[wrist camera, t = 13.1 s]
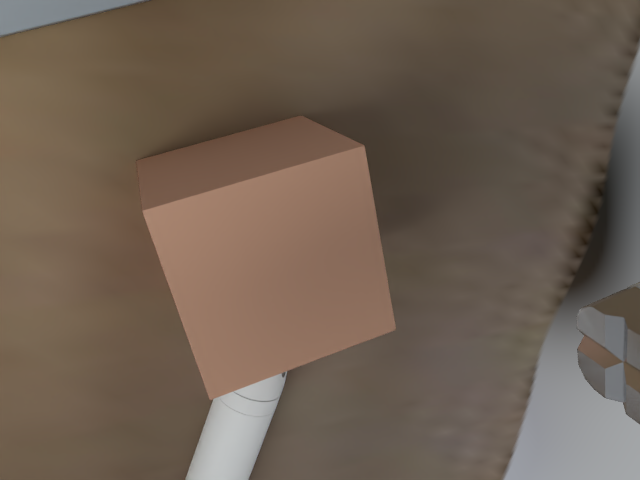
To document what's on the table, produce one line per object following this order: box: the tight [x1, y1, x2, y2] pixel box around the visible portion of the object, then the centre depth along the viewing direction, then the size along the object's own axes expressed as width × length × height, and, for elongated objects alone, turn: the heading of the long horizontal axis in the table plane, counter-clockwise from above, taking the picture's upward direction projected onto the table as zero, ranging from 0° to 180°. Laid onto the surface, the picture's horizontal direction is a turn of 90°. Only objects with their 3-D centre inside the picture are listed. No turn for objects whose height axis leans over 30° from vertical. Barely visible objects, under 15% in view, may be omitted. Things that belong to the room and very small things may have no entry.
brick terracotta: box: [136, 115, 396, 400], centre depth 15 cm, size 5×5×5 cm
